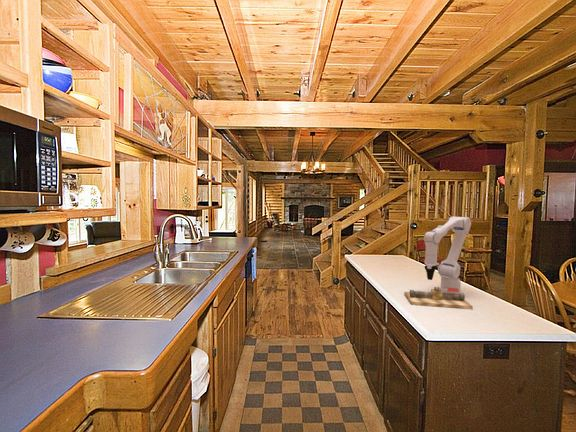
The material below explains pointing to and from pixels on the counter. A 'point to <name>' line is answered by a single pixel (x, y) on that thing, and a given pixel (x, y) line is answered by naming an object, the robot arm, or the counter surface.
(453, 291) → the valve lever
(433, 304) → the valve board
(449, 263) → the robot arm
